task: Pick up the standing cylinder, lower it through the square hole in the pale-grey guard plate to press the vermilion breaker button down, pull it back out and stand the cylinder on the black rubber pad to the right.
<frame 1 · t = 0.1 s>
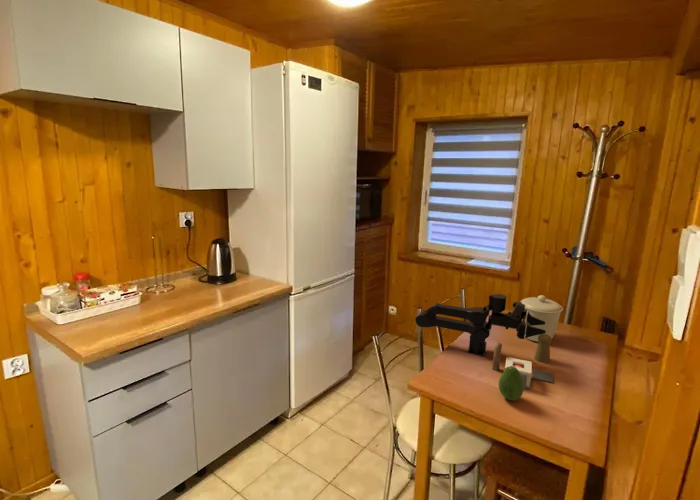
hand: (545, 327, 156), 17 cm above the table, tool horizontal, fingers open, 9 cm apart
cylinder: (495, 369, 156), on the table
canister: (536, 337, 185), on the table
pad: (542, 376, 151), on the table
guard: (516, 380, 149), on the table
cork: (541, 359, 164), on the table
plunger: (517, 369, 148), point 4 cm above the table, slide at 0.0 cm
fruit: (509, 399, 137), on the table
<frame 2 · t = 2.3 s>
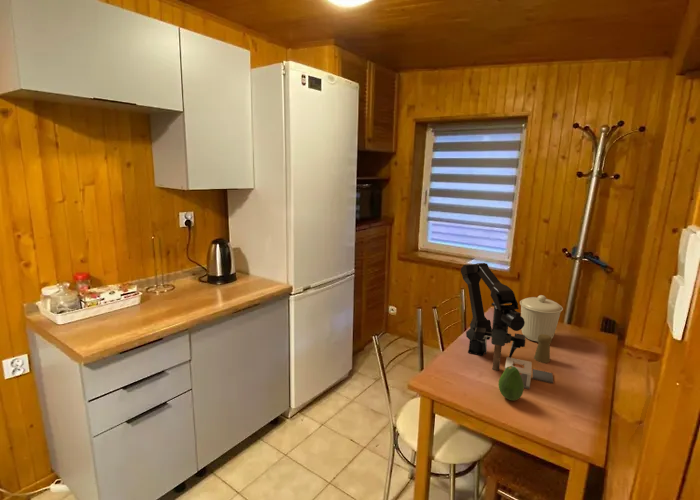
hand: (497, 356, 155), 6 cm above the table, tool pointing down, fingers open, 9 cm apart
nothing on the table moved.
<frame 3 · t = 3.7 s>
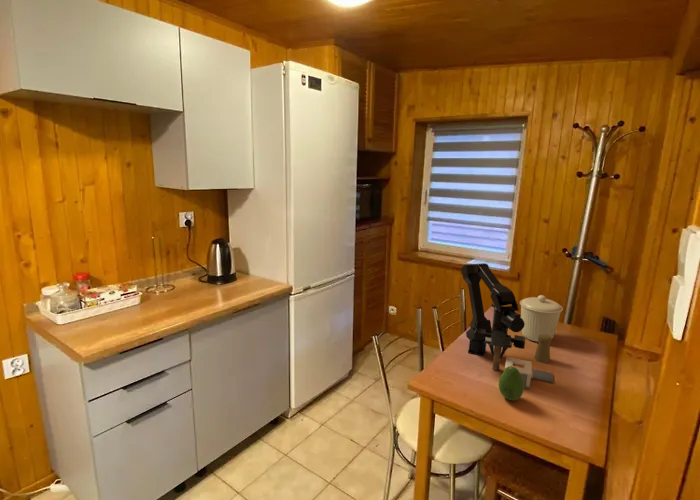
hand: (496, 357, 155), 5 cm above the table, tool pointing down, fingers closed on cylinder, 3 cm apart
cylinder: (495, 369, 156), on the table, touching gripper
everything else where it was.
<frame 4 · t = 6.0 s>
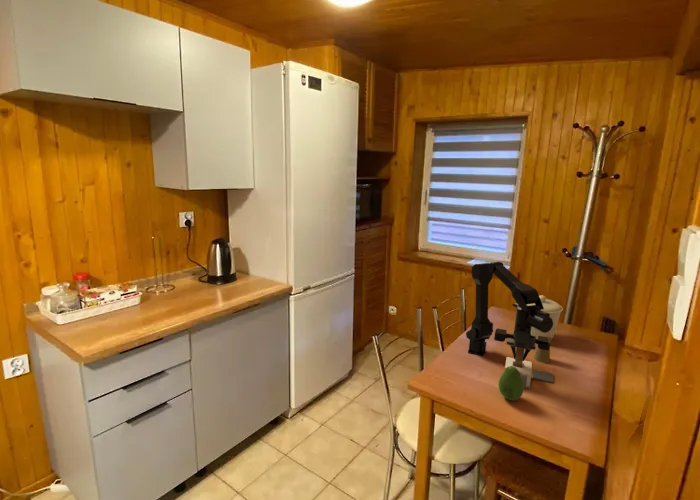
hand: (519, 359, 147), 9 cm above the table, tool pointing down, fingers closed on cylinder, 3 cm apart
cylinder: (517, 371, 148), point 4 cm above the table, touching gripper, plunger
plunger: (517, 374, 148), point 2 cm above the table, slide at 2.0 cm, touching cylinder
everything else where it was.
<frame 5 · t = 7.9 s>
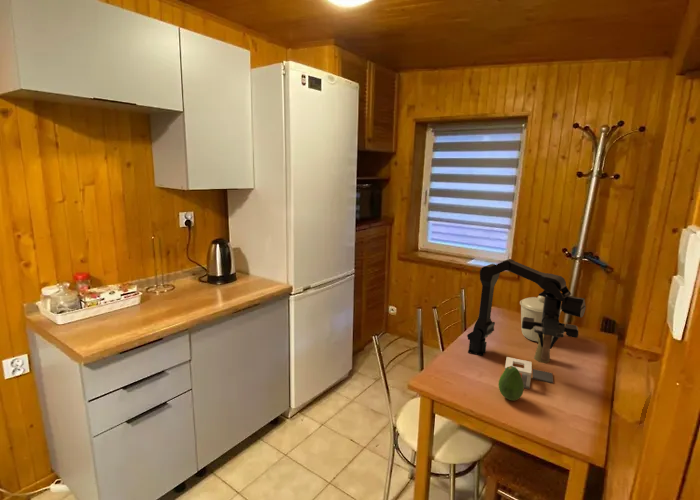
hand: (546, 347, 148), 12 cm above the table, tool pointing down, fingers closed on cylinder, 3 cm apart
cylinder: (544, 359, 149), point 7 cm above the table, touching gripper
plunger: (517, 374, 148), point 2 cm above the table, slide at 2.0 cm
everything else where it was.
when the fingers open (7 cm above the table, at t = 9.3 s): cylinder drops 1 cm, resting on pad.
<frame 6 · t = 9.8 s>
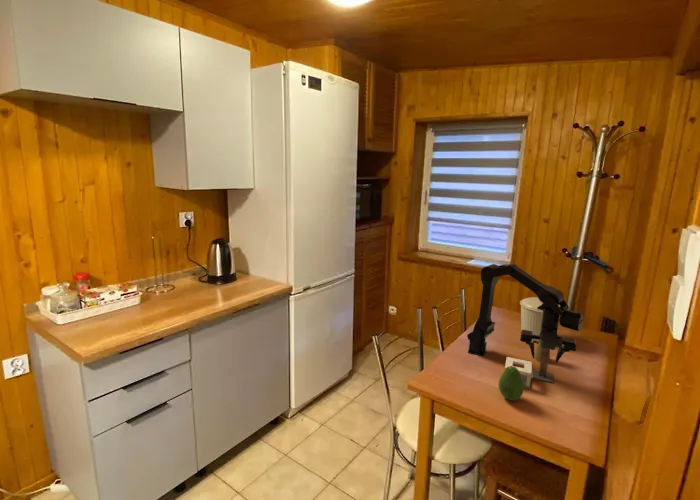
hand: (544, 360, 150), 7 cm above the table, tool pointing down, fingers open, 8 cm apart
cylinder: (542, 375, 151), point 1 cm above the table, touching pad
everything else where it was.
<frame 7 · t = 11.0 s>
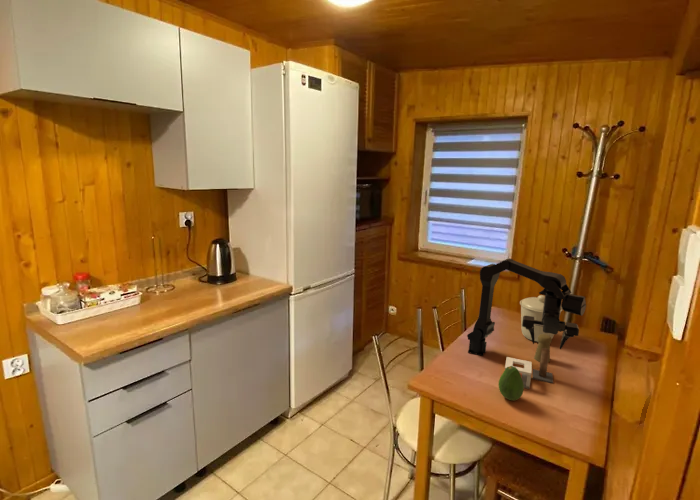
hand: (546, 346, 148), 13 cm above the table, tool pointing down, fingers open, 9 cm apart
nothing on the table moved.
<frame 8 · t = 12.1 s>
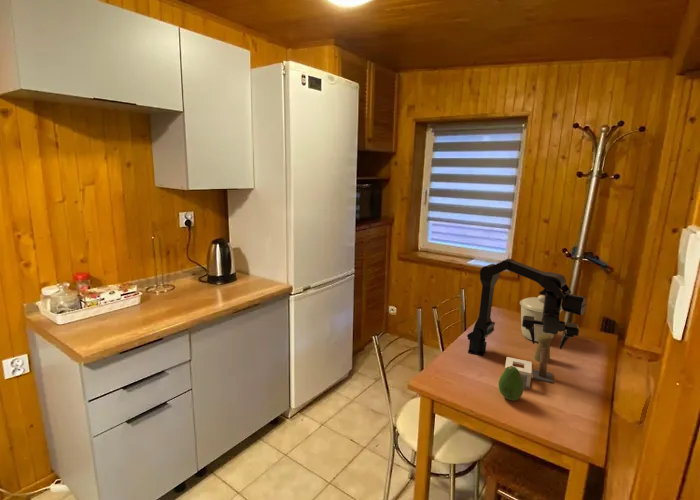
hand: (546, 346, 148), 13 cm above the table, tool pointing down, fingers open, 9 cm apart
nothing on the table moved.
at the end: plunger slide at 2.0 cm; the gripper is holding nothing; cylinder 0.3 cm from the pad (horizontally) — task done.
